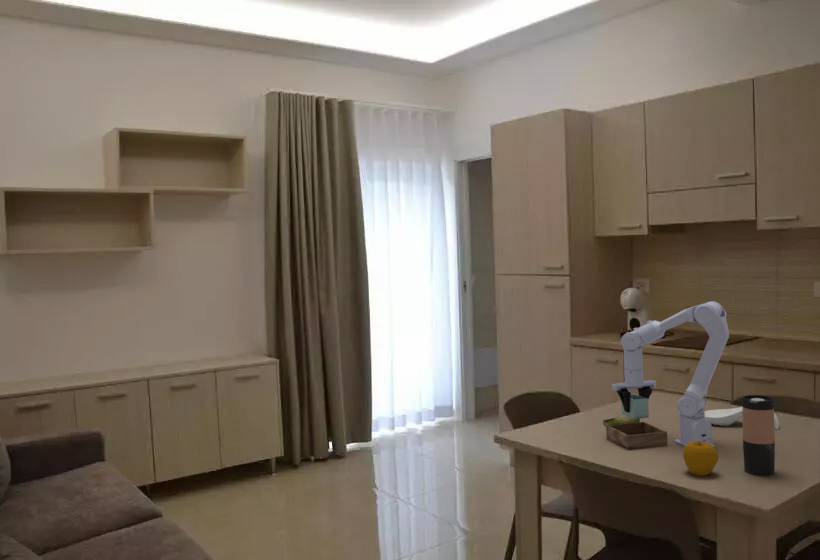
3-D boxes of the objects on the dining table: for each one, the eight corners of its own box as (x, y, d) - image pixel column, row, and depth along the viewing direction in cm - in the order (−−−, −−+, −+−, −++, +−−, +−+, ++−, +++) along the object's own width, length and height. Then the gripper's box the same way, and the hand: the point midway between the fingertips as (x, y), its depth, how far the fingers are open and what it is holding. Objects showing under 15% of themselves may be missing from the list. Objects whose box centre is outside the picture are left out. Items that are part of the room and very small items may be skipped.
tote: (635, 412, 230) (635, 393, 230) (648, 417, 222) (648, 398, 222) (621, 413, 229) (621, 395, 229) (634, 418, 221) (633, 400, 221)
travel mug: (765, 467, 191) (764, 394, 190) (781, 476, 183) (780, 400, 182) (738, 468, 191) (736, 395, 190) (752, 477, 183) (751, 401, 182)
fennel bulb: (633, 415, 245) (601, 423, 243) (634, 405, 242) (601, 412, 241) (641, 426, 240) (608, 434, 239) (642, 415, 237) (608, 423, 236)
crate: (667, 446, 214) (667, 431, 214) (628, 450, 211) (627, 436, 211) (644, 435, 227) (643, 421, 226) (606, 439, 224) (606, 425, 224)
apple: (723, 473, 187) (722, 440, 187) (710, 481, 181) (709, 447, 181) (691, 467, 194) (691, 435, 193) (678, 474, 188) (677, 442, 187)
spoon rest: (699, 427, 235) (698, 406, 235) (703, 419, 245) (702, 398, 245) (778, 433, 224) (778, 411, 223) (779, 424, 234) (779, 403, 234)
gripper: (647, 365, 230) (648, 406, 231) (606, 368, 227) (608, 410, 228) (659, 368, 223) (660, 410, 224) (617, 372, 220) (619, 415, 221)
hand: (634, 411), depth 225 cm, fingers closed on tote, 5 cm apart
